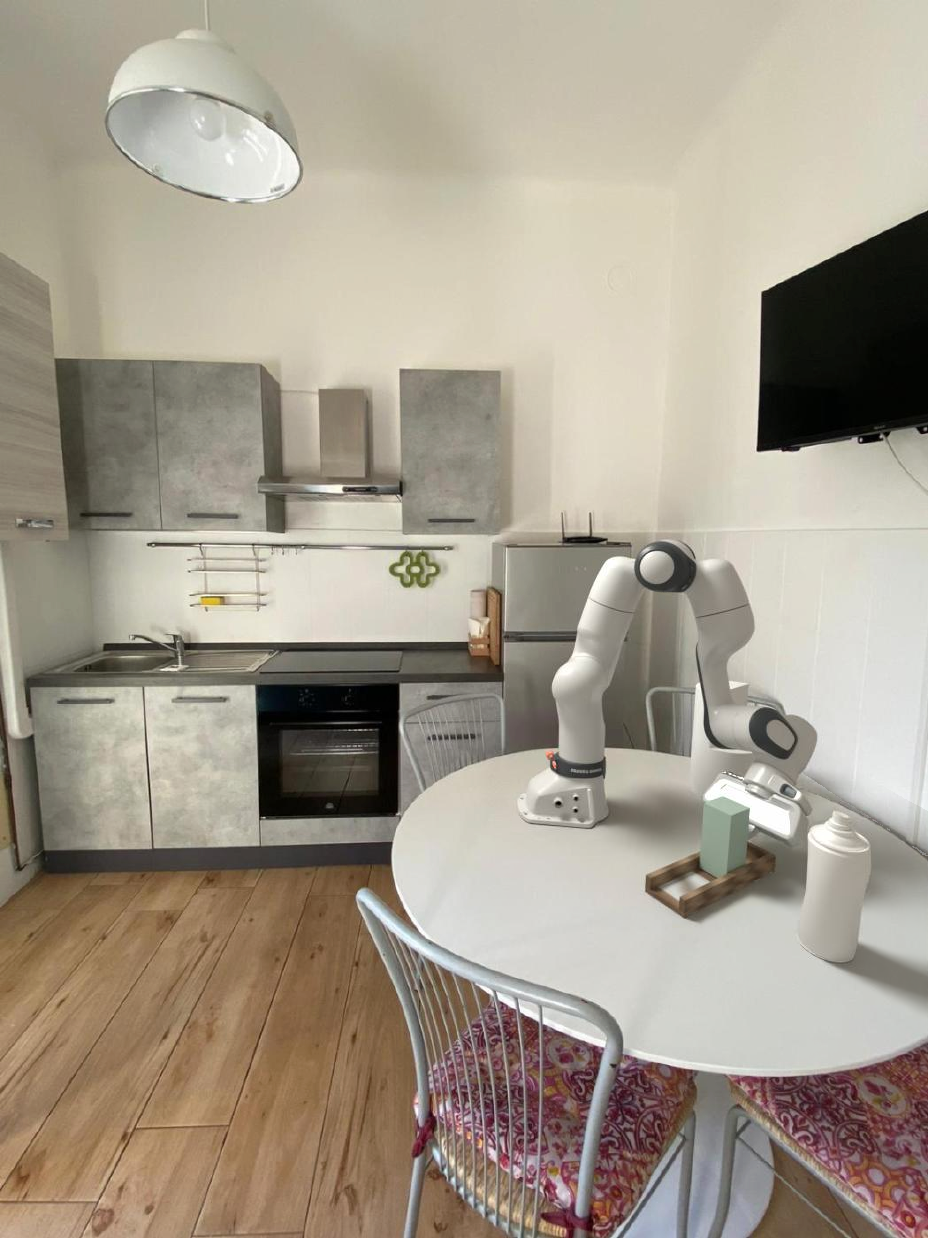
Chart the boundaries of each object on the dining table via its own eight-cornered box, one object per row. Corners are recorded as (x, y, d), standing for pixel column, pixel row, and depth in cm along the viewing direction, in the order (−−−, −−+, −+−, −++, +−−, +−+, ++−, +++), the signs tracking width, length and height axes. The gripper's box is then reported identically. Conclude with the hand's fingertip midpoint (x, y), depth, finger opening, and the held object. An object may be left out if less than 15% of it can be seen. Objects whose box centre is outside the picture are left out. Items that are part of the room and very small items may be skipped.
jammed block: (717, 859, 121) (722, 795, 119) (744, 873, 116) (750, 808, 114) (699, 867, 118) (703, 802, 116) (725, 883, 113) (731, 815, 111)
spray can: (884, 970, 92) (903, 824, 88) (827, 981, 90) (844, 831, 86) (825, 922, 103) (839, 790, 100) (773, 931, 101) (786, 796, 97)
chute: (734, 850, 126) (735, 835, 126) (774, 871, 119) (776, 855, 118) (644, 891, 112) (645, 875, 112) (683, 918, 105) (685, 900, 104)
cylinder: (676, 787, 157) (682, 686, 153) (711, 771, 167) (718, 677, 163) (738, 812, 143) (747, 702, 139) (772, 793, 154) (781, 691, 149)
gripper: (716, 761, 129) (684, 813, 125) (811, 797, 111) (777, 859, 108) (727, 775, 132) (696, 827, 128) (821, 813, 114) (788, 874, 111)
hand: (734, 842), depth 118 cm, fingers closed, pressing on jammed block
